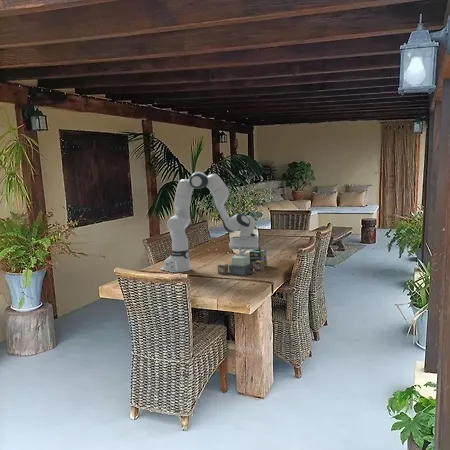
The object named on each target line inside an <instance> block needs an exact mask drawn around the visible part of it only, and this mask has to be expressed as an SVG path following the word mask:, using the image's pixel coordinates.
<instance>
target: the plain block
mask: <svg viewBox="0 0 450 450" xmlns="http://www.w3.org/2000/svg"><path fill="white" fill-rule="evenodd" d="M230 259H231V264H232V265H233V266H246V265H248V264H250V254H249V255H247V254H244V255H242V254H235V255H234V256H232V257H231V258H230Z"/></svg>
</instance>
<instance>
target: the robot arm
mask: <svg viewBox="0 0 450 450" xmlns="http://www.w3.org/2000/svg"><path fill="white" fill-rule="evenodd" d="M203 188H207V189H208V190H209V191H210V193H211V195H212V196H213V201H214V202H213V204H214V207H215V209H216V212H217V214H218V216H219V218H220V220H221V222H222V226H223V228H224V230H225V231H226V232H228V233H231V234H233V233H234V232H236V231H237V230H240V232H239V236H232V237H231V238H230V241H229V243H228V248H229V249H230V250H239V252H238V253H239V254H238V255H245V253H246V252H247V251H249V250H250V251H252V250H257V249H259V248H258V246H259V245H260V244H259V237H258V235H257V234H256V233H254V231H255V226H256V220H255V217H253V216H251V215H245V214H244V213H242V212H238V213H236V214H235V215H233V216H231V217H230V216H229V214H228V212H227V209H226V206H225V203H226V202H227V199H229V196H230V191H229V189H228V187H227V185H226V183H225V182H224V181H223V180H222V177H220V176H219V175H218V174H217V173H211V174H209V175H207V174H206V173H205V172H203V171H201V170H200V171H195V172H193V173H192V174H191V175H190V177H189V178H188V179H187V178H184V179H183V178H182V179H179V181H178V184H177V186H176V189H175V190H176V191H175V195H174V202H173V207H174V214H173V215H172V216H171V217H170V218H169V219H168V220H167V222H166V227H167V229H168V230H169V234H170V238H171V245H172V246H171V248H172V249H171V250H170V251H169V252H168V253H170V255H169V256H168V257H167V258H166V259H164V261H163V266H161V267H160V269H159V270H160V271H163V270H165V272H168V271H169V273H173V272H174V273H183V272H188V271H191V270H192V266H191V261H190V249H189V239H188V236H187V234H186V228H187V227H188V226H189V225H190V223H191V219H190V210H191V209H190V208H191V207H190V206H191V201H192V197H193V196H192V195H193V191H194V189H195V190H199V189H203ZM259 247H260V246H259ZM174 273H173V274H174Z"/></svg>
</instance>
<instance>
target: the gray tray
mask: <svg viewBox="0 0 450 450" xmlns="http://www.w3.org/2000/svg"><path fill="white" fill-rule="evenodd" d="M251 272H252V273H253V272H254V268H253V263H250V264H248V265H246V266H233V265H232V263H230V264H228V275H231V276H242V277H246V276H248V275H250V274H252V273H251Z"/></svg>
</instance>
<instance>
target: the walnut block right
mask: <svg viewBox="0 0 450 450" xmlns="http://www.w3.org/2000/svg"><path fill="white" fill-rule="evenodd" d="M262 270H263V271H264V270H265V267H264V261H256V262H254V268H253V272H263V271H262Z"/></svg>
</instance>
